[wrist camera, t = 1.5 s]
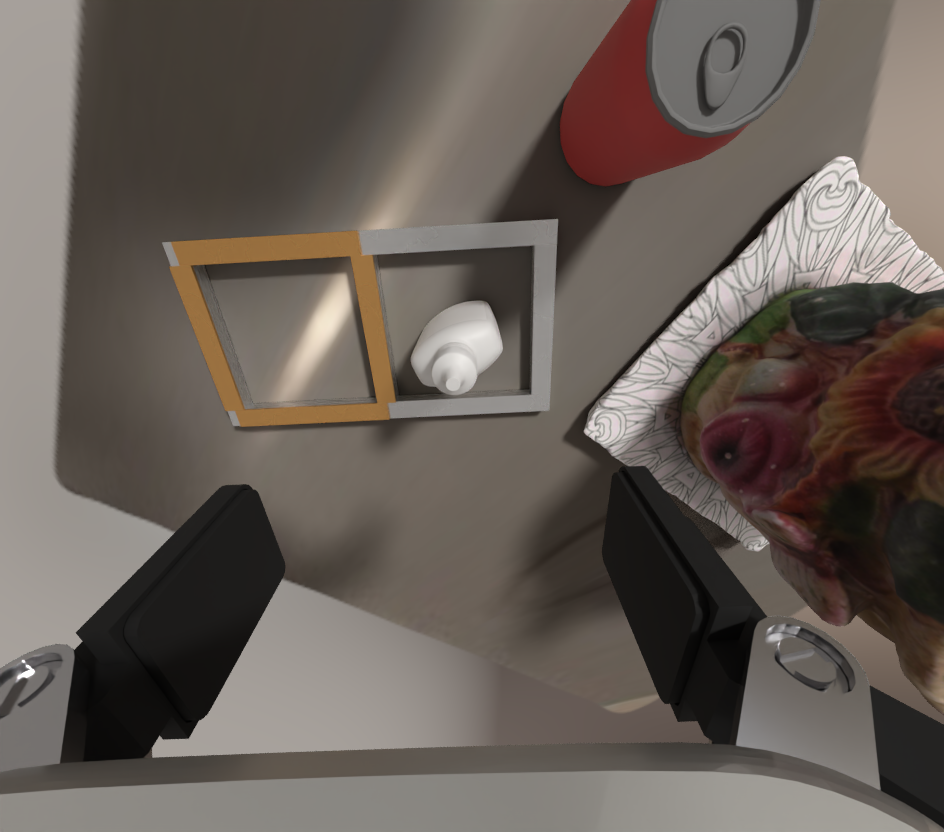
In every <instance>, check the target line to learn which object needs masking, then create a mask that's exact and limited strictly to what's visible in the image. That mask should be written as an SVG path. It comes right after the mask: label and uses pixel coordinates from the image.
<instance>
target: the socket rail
mask: <svg viewBox="0 0 944 832" xmlns="http://www.w3.org/2000/svg"><path fill="white" fill-rule="evenodd" d="M557 232H558V219H548V220H531V221H514V222H498V223H481V224H464V225H447V226H430V227H413V228H396V229H380V230H363V231H345V232H328V233H311V234H294V235H278V236H261V237H244V238H227V239H210V240H193V241H176V242H162V244H163V247H164V249H165V252H166V255H167V257H168V260H169V262H170V265H171V267H169V268H170V270H171V273H172V276H173V278H174V281H175V283H176V286H177V288H178V291H179V293H180V296H181V299H182V301H183V304H184V306H185V309H186V311H187V314H188V316H189V319H190V321H191V324H192V327H193V329H194V332H195V334H196V337H197V339H198V342H199V344H200V347H201V350H202V352H203V355H204V357H205V360H206V362H207V365H208V367H209V370H210V372H211V375H212V378H213V380H214V383H215V385H216V388H217V390H218V393H219V395H220V398H221V401H222V403H223V406H224V408H225V411H228V414H229V416H230V419H231V421H232V424H233V426H241V427H247V426H268V425H288V424H308V423H329V422H349V421H369V420H390V418H409V417H429V416H449V415H470V414H490V413H510V412H531V411H549V406H550V384H551V362H552V341H553V319H554V297H555V276H556V254H557ZM515 246H532V273H531V327H530V381H529V389H522V390H503V391H483V392H465V393H463V394H461V395H456V396H455V395H448V394H446V393H443V394H423V395H403V396H399V393H398V387H397V380H396V374H395V367H394V361H393V354H392V348H391V341H390V335H389V328H388V322H387V316H386V309H385V303H384V296H383V290H382V283H381V277H380V270H379V264H378V257H377V254H394V253H412V252H429V251H446V250H463V249H481V248H498V247H515ZM345 256H350V257H351V263H352V268H353V274H354V279H355V284H356V290H357V295H358V301H359V306H360V311H361V317H362V322H363V328H364V333H365V339H366V344H367V349H368V355H369V360H370V366H371V371H372V376H373V382H374V387H375V393H376V397H364V398H344V399H324V400H304V401H284V402H265V403H253V402H252V399H251V397H250V394H249V391H248V388H247V385H246V382H245V379H244V377H243V374H242V371H241V368H240V365H239V362H238V360H237V357H236V354H235V351H234V348H233V345H232V343H231V340H230V337H229V334H228V331H227V328H226V325H225V323H224V320H223V317H222V314H221V311H220V308H219V306H218V303H217V300H216V297H215V294H214V291H213V288H212V286H211V283H210V280H209V277H208V274H207V271H206V269H205V266H204V265H207V264H224V263H241V262H259V261H276V260H293V259H310V258H328V257H345Z"/></svg>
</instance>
